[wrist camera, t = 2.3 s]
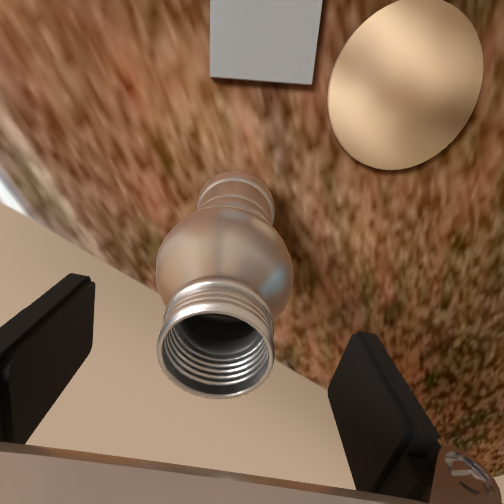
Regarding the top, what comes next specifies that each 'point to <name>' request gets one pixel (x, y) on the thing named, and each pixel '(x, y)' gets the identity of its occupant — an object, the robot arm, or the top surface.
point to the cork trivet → (405, 84)
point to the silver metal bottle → (223, 289)
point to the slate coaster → (264, 40)
